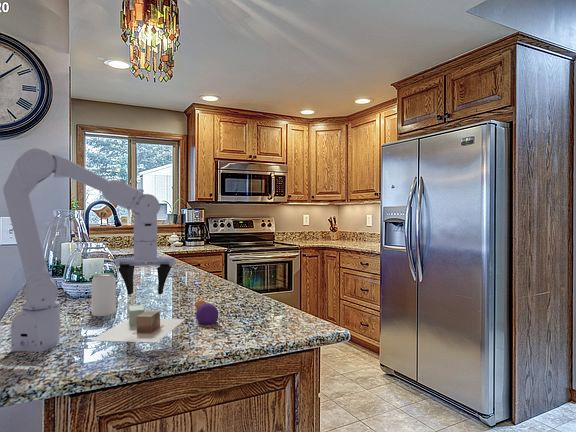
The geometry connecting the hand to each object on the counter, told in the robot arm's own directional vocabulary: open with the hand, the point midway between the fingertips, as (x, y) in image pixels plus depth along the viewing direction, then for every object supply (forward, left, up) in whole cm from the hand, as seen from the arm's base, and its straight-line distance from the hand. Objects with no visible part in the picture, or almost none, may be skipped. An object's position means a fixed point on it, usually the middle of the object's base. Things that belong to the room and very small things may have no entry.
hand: (145, 293), depth 104 cm
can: (+14, +18, -10) cm, 25 cm away
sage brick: (+5, +4, -9) cm, 11 cm away
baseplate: (-1, 0, -9) cm, 9 cm away
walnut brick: (-1, -2, -9) cm, 9 cm away
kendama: (+13, -12, -10) cm, 20 cm away
